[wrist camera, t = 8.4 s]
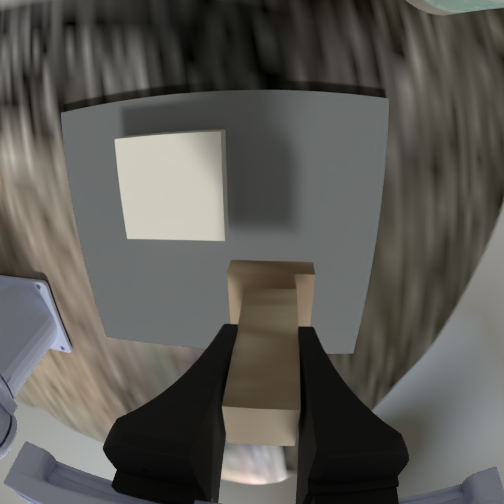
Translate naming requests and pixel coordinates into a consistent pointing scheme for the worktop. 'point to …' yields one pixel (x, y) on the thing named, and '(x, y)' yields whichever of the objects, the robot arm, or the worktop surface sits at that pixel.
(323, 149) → the mat
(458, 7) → the coffee cup
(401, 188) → the worktop surface
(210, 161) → the tile
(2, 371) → the robot arm
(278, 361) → the stepped wooden block
